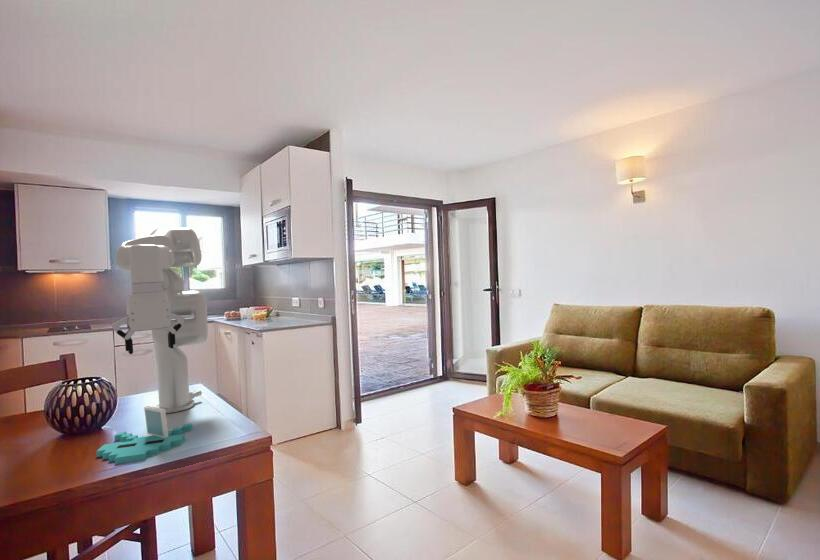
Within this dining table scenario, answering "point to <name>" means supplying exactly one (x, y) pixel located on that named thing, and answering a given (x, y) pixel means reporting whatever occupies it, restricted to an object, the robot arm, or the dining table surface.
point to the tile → (156, 421)
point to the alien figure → (141, 445)
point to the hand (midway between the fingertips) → (151, 350)
